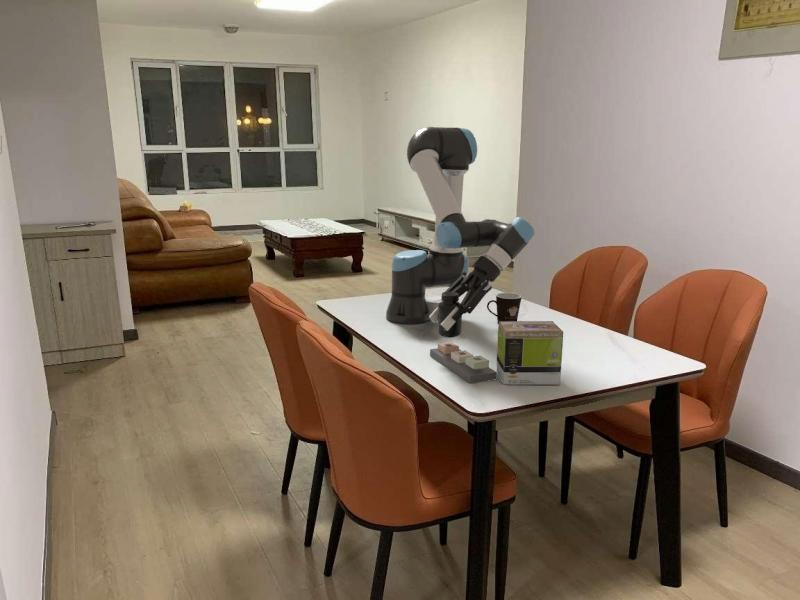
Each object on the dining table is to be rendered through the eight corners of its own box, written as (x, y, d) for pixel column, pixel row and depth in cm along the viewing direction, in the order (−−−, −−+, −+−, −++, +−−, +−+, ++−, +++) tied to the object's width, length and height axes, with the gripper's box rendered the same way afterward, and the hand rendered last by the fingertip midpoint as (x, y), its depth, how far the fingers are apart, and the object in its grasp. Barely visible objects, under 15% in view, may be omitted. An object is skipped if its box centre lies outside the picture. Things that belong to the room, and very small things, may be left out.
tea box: (549, 372, 173) (554, 320, 169) (560, 386, 163) (565, 331, 159) (495, 371, 172) (498, 319, 168) (502, 385, 162) (505, 330, 159)
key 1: (437, 349, 183) (437, 343, 182) (451, 347, 184) (451, 341, 184) (444, 354, 179) (445, 347, 178) (458, 352, 180) (459, 346, 180)
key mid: (450, 358, 175) (451, 351, 175) (465, 356, 177) (465, 350, 177) (458, 363, 171) (459, 356, 171) (473, 361, 173) (473, 354, 173)
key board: (429, 355, 183) (430, 349, 183) (454, 352, 187) (454, 346, 186) (469, 383, 163) (470, 376, 163) (496, 379, 166) (496, 372, 166)
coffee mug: (518, 321, 221) (520, 293, 219) (520, 328, 213) (522, 299, 211) (485, 319, 222) (486, 291, 220) (485, 326, 214) (487, 297, 212)
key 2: (465, 363, 168) (465, 356, 168) (479, 361, 170) (480, 355, 169) (473, 369, 164) (474, 362, 164) (488, 367, 166) (489, 360, 165)
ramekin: (446, 318, 224) (447, 303, 222) (416, 314, 227) (417, 300, 226) (454, 310, 234) (454, 296, 233) (425, 307, 237) (425, 293, 236)
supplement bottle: (444, 328, 185) (445, 288, 182) (465, 332, 182) (466, 292, 178) (432, 335, 180) (433, 294, 176) (454, 339, 176) (456, 298, 173)
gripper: (518, 280, 174) (462, 342, 171) (481, 265, 191) (430, 321, 189) (503, 262, 170) (446, 325, 168) (466, 248, 187) (414, 306, 185)
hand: (438, 323), depth 178 cm, fingers closed on supplement bottle, 7 cm apart
